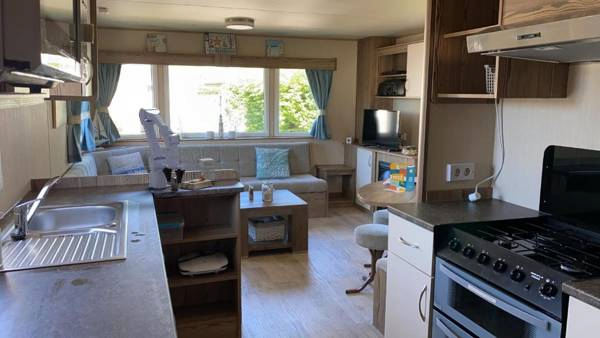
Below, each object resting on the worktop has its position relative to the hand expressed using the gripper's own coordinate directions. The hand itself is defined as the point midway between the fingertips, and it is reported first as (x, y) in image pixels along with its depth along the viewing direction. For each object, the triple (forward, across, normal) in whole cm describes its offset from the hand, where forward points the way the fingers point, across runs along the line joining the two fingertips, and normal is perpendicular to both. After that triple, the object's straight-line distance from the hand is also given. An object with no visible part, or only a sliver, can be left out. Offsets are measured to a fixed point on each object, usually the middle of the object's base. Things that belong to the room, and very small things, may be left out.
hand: (174, 182), depth 251 cm
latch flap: (0, +3, +17) cm, 18 cm away
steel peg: (+4, 0, 0) cm, 4 cm away
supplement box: (+4, -5, +31) cm, 32 cm away
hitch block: (+4, +3, +14) cm, 14 cm away
